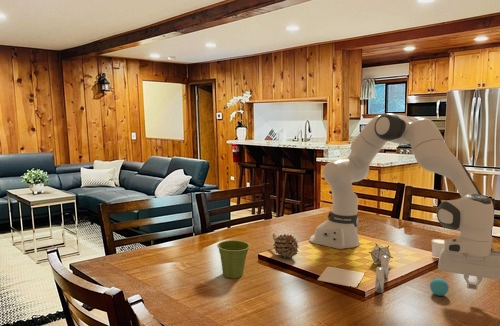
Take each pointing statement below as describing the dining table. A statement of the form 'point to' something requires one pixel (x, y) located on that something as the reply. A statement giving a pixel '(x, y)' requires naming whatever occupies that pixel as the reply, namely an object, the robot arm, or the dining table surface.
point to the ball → (439, 286)
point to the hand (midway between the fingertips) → (472, 288)
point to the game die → (379, 253)
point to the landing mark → (341, 276)
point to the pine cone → (285, 245)
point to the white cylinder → (437, 247)
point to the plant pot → (233, 257)
